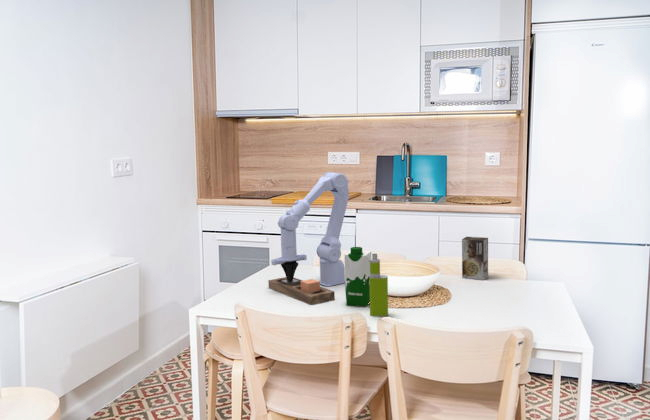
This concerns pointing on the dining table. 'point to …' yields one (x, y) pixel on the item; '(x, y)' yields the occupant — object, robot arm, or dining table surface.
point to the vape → (378, 289)
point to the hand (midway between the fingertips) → (289, 281)
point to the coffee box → (475, 258)
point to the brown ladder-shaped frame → (301, 292)
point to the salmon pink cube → (310, 285)
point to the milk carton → (357, 277)
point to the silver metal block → (291, 282)
